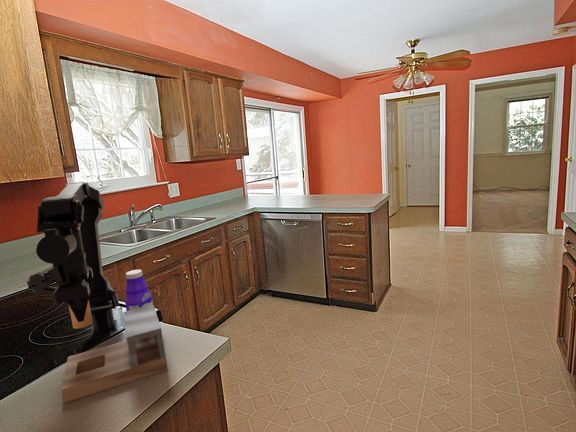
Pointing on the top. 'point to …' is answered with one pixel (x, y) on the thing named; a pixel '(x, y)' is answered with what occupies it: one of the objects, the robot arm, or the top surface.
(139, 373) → the socket block
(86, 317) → the peg
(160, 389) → the top surface
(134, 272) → the bottle
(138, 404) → the top surface
